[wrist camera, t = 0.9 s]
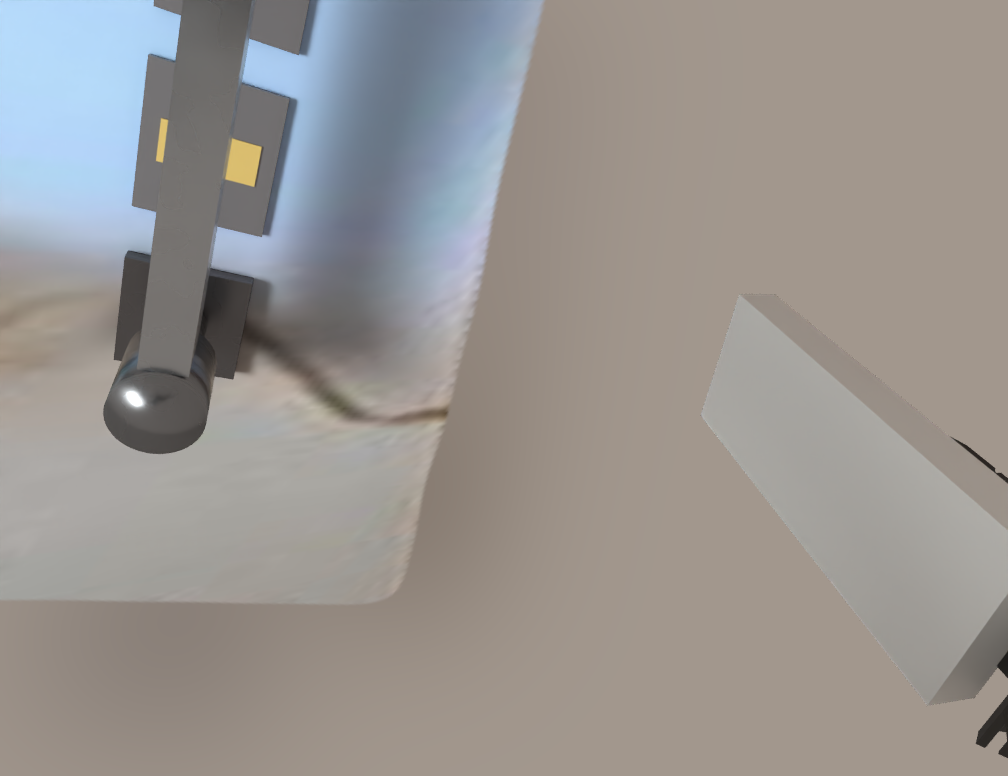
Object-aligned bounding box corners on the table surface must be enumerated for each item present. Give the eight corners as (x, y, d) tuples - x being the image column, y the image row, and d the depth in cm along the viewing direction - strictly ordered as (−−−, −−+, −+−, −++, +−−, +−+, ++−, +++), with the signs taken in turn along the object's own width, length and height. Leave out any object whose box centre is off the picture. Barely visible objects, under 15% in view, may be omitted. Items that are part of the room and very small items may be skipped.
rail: (122, 386, 34) (99, 447, 30) (183, -141, 24) (161, -150, 20) (210, 400, 36) (199, 459, 32) (302, -91, 26) (302, -91, 22)
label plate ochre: (133, 203, 34) (131, 206, 34) (149, 53, 31) (147, 55, 31) (262, 235, 36) (261, 237, 36) (289, 98, 33) (289, 99, 33)
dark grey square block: (116, 352, 38) (99, 395, 35) (127, 250, 35) (109, 286, 32) (234, 371, 40) (228, 414, 37) (253, 278, 38) (248, 314, 34)
